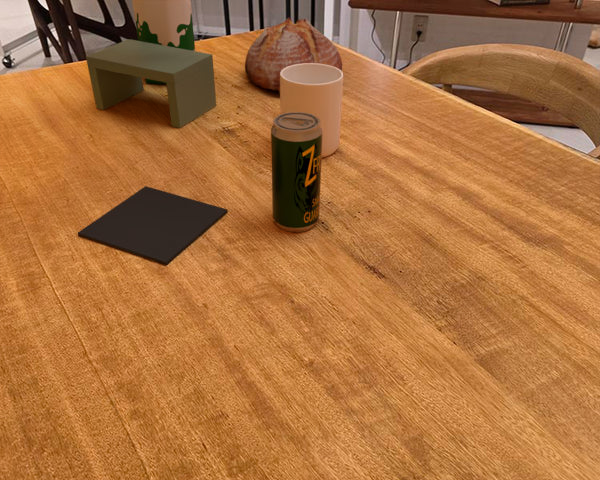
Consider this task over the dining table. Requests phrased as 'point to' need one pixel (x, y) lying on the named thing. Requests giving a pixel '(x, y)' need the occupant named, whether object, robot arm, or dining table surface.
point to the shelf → (154, 77)
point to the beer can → (296, 170)
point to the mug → (315, 98)
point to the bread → (287, 52)
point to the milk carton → (164, 24)
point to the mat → (154, 224)
